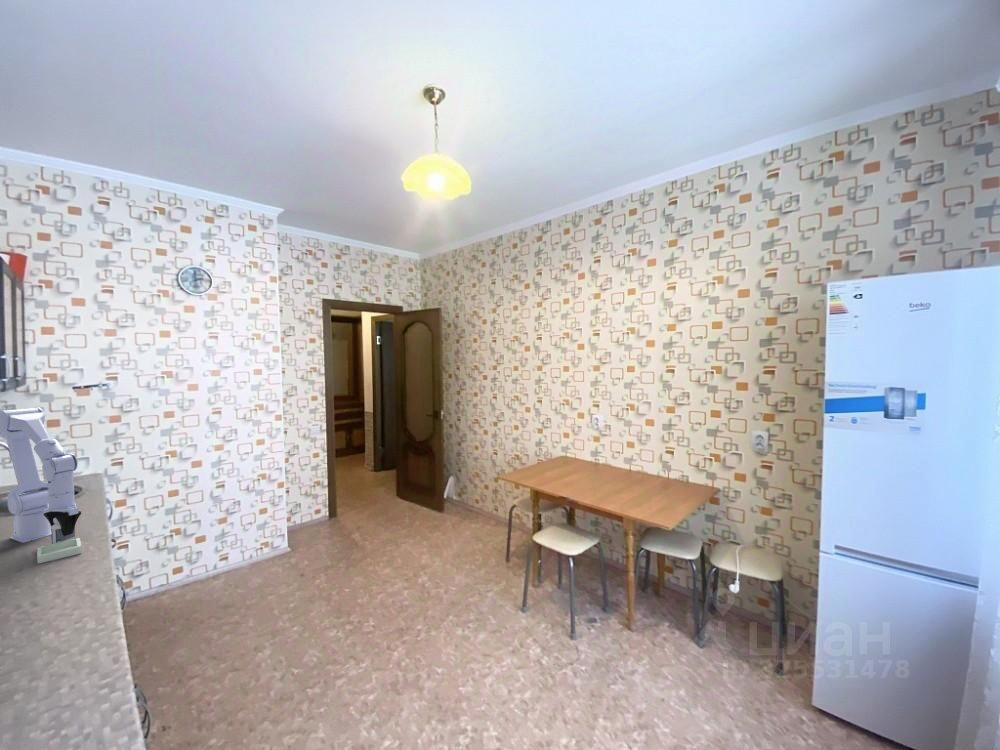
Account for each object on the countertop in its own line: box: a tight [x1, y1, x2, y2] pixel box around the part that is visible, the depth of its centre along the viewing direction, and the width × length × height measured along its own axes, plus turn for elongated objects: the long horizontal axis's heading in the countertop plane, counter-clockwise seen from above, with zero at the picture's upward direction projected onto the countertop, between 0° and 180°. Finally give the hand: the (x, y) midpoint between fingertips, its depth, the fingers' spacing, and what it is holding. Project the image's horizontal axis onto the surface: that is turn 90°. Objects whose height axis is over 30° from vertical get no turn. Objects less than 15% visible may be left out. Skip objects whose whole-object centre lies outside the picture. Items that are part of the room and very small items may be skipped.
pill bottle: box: [50, 518, 76, 544], centre depth 132 cm, size 5×5×9 cm
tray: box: [36, 537, 83, 564], centre depth 124 cm, size 9×9×2 cm
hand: (63, 533), depth 132 cm, fingers closed on pill bottle, 5 cm apart
